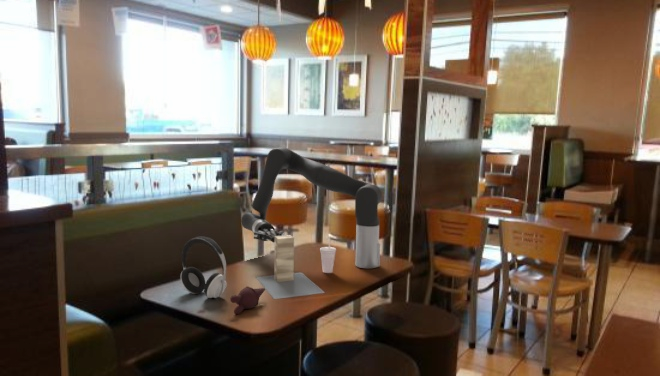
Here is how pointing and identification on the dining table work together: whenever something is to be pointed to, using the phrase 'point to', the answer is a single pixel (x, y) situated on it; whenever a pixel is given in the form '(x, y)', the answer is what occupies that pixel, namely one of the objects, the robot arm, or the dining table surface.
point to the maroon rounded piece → (246, 298)
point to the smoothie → (327, 258)
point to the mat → (289, 286)
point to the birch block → (284, 258)
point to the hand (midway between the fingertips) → (275, 239)
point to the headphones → (195, 279)
